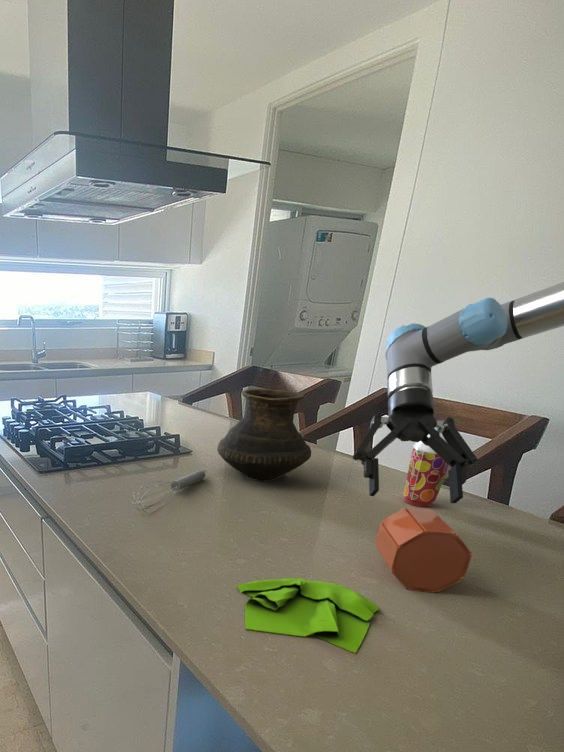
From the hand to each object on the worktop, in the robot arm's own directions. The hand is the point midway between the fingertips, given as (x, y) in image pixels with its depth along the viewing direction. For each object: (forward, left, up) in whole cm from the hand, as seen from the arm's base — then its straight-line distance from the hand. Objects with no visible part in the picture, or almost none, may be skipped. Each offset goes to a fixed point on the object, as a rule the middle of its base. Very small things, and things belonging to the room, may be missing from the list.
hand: (414, 496), depth 87 cm
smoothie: (0, -34, -12) cm, 36 cm away
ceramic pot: (+38, -30, -12) cm, 50 cm away
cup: (-3, +7, -12) cm, 14 cm away
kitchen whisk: (+50, -2, -12) cm, 51 cm away
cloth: (+10, +29, -12) cm, 33 cm away
